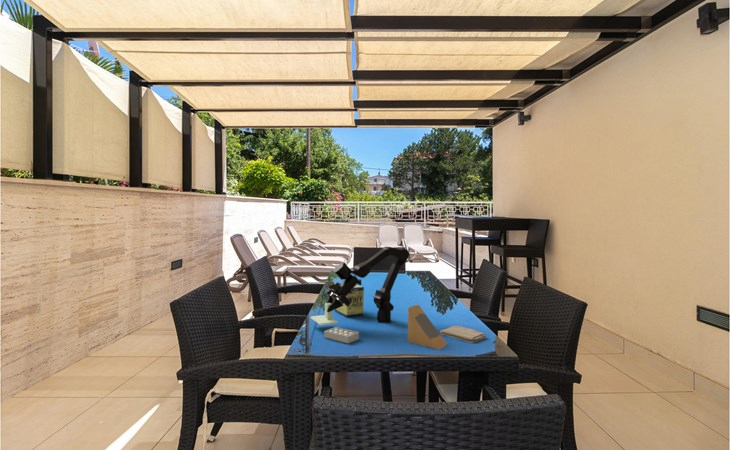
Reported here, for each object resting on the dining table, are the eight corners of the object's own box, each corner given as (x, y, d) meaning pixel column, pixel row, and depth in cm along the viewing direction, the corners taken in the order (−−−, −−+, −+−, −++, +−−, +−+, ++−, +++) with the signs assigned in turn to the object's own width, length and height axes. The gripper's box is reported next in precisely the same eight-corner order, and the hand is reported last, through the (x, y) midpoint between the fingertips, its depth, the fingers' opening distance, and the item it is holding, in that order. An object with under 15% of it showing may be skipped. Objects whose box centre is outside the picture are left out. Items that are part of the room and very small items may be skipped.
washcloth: (473, 344, 165) (473, 337, 165) (438, 335, 178) (438, 328, 178) (487, 339, 173) (487, 332, 173) (452, 330, 186) (452, 323, 186)
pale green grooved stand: (326, 316, 191) (327, 300, 191) (337, 323, 179) (337, 306, 179) (310, 318, 187) (310, 302, 187) (320, 325, 175) (320, 308, 175)
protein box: (346, 318, 203) (347, 288, 203) (334, 311, 217) (334, 283, 217) (364, 315, 209) (364, 287, 208) (350, 309, 222) (351, 282, 222)
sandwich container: (438, 350, 156) (439, 313, 156) (407, 341, 166) (407, 307, 166) (448, 345, 163) (449, 309, 163) (417, 337, 173) (418, 304, 173)
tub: (335, 333, 176) (335, 326, 176) (358, 339, 168) (358, 332, 168) (324, 337, 169) (324, 331, 169) (347, 343, 162) (347, 336, 162)
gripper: (329, 272, 194) (308, 296, 189) (344, 277, 177) (321, 304, 172) (343, 287, 197) (323, 310, 193) (359, 293, 181) (337, 319, 176)
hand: (325, 310), depth 183 cm, fingers closed on pale green grooved stand, 3 cm apart
